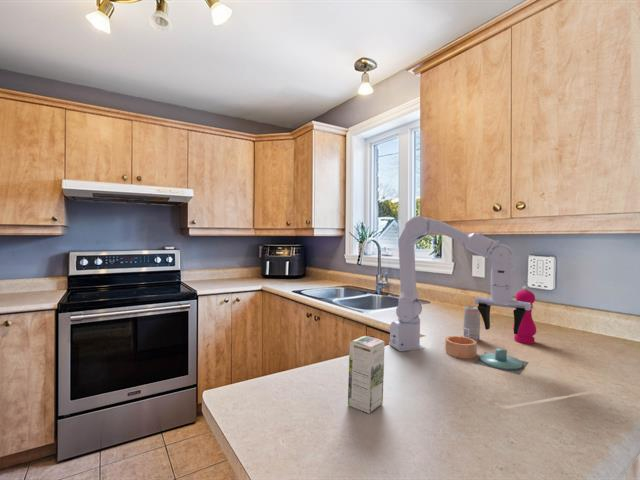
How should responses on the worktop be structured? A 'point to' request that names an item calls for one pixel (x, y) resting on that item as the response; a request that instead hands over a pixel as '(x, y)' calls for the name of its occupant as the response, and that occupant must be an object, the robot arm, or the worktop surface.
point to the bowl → (460, 347)
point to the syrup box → (366, 373)
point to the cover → (501, 360)
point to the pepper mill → (526, 319)
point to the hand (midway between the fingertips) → (501, 331)
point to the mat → (503, 369)
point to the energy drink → (471, 323)
